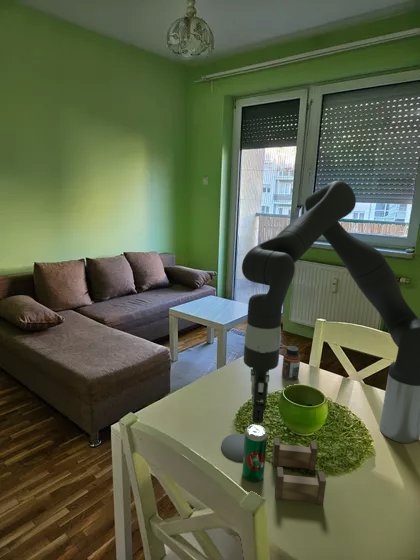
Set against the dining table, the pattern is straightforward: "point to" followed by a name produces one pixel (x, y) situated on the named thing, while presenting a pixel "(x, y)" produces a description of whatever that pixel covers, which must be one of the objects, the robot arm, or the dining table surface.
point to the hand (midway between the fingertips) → (257, 410)
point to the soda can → (254, 453)
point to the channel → (297, 485)
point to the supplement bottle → (291, 363)
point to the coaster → (234, 446)
